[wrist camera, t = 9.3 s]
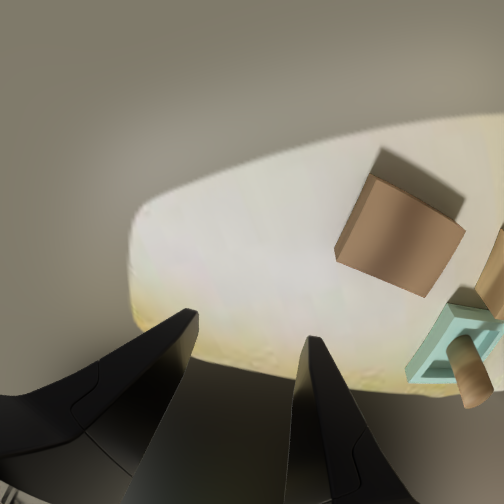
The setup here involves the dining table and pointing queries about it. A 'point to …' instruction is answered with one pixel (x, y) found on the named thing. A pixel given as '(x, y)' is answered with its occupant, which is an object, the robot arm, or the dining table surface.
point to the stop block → (494, 279)
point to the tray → (443, 333)
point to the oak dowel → (469, 371)
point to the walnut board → (397, 238)
